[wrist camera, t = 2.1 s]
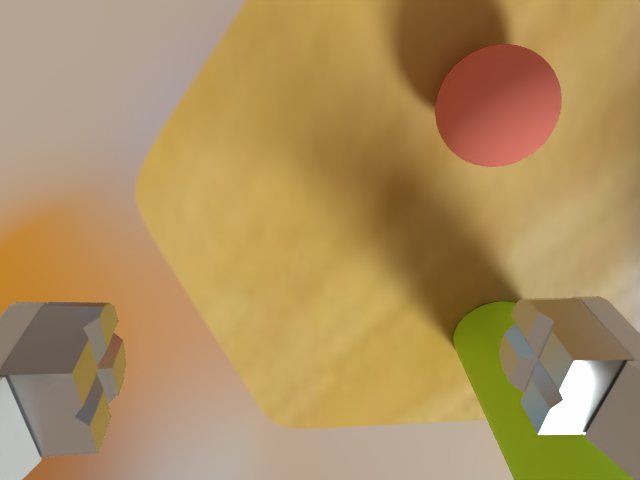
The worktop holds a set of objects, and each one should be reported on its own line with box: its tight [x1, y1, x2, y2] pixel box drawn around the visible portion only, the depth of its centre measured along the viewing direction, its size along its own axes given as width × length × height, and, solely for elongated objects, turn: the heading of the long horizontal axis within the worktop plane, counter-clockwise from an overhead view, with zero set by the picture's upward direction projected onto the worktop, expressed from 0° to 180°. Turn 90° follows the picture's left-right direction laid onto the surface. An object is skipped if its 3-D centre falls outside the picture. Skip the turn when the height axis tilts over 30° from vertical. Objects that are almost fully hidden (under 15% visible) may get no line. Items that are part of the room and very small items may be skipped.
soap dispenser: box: [453, 301, 635, 480], centre depth 25 cm, size 6×7×20 cm
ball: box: [436, 44, 561, 167], centre depth 22 cm, size 6×6×6 cm
